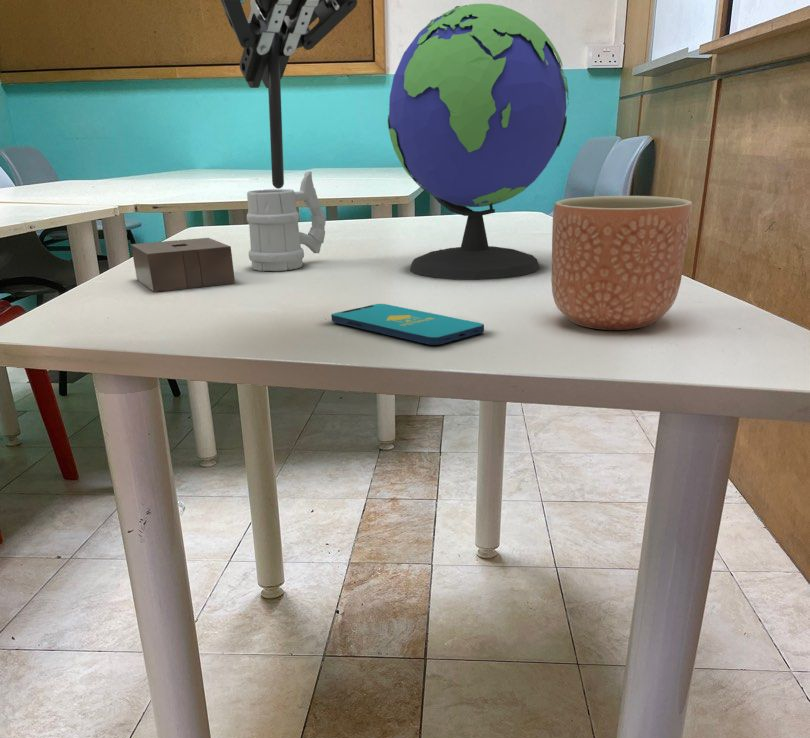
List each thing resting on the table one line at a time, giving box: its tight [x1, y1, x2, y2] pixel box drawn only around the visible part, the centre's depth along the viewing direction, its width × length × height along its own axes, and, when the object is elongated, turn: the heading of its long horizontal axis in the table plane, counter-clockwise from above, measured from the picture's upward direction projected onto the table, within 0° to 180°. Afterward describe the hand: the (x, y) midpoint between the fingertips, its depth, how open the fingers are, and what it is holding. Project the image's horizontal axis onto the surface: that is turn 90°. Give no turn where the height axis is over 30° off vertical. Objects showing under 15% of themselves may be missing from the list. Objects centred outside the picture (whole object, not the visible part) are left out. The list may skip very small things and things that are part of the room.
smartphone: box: [330, 303, 485, 346], centre depth 79 cm, size 7×1×15 cm
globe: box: [387, 3, 570, 280], centre depth 102 cm, size 22×22×30 cm
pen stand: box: [130, 237, 236, 293], centre depth 104 cm, size 10×10×4 cm
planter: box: [551, 195, 693, 331], centre depth 77 cm, size 12×12×11 cm
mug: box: [246, 170, 327, 272], centre depth 112 cm, size 8×12×12 cm, turn 125°
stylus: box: [267, 33, 285, 189], centre depth 73 cm, size 1×1×13 cm
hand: (257, 80), depth 74 cm, fingers closed on stylus, 1 cm apart
